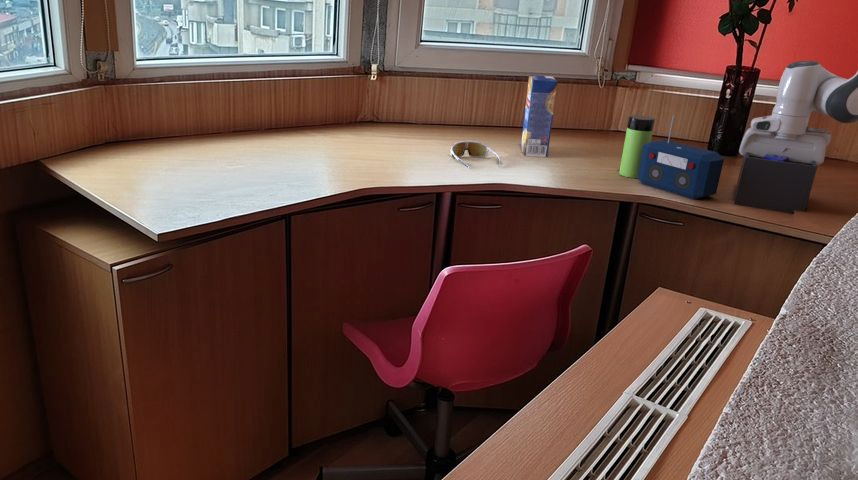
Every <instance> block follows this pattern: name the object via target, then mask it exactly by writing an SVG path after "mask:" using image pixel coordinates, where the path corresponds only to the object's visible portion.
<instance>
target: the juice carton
mask: <svg viewBox="0 0 858 480" xmlns="http://www.w3.org/2000/svg"><path fill="white" fill-rule="evenodd" d="M558 82H559V81H558V80H557V79H556V78H555V77H554V76H552V75H551V76H550V75H534V74H529V75H528V81H527V91H526V99H525V108H524V115H523V124H522V131H521V139H520V149H521V151H522V154H523V156H524V157H539V158H548V155H549V149H550V148H549V147H550V143H551V133H552V127H553V119H554V110H555V104H556V97H557V89H558Z"/></svg>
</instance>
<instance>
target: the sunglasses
mask: <svg viewBox="0 0 858 480" xmlns="http://www.w3.org/2000/svg"><path fill="white" fill-rule="evenodd" d="M466 151H467V154H468V156H469V157H471V158H487V157H488V153H489V152H490V153H492V154H493V155H495V156H496V158H497V159H498V168H500V167H501V158H500V156H499V154H498V153H497V152H496V151H495V150H493V149H492V148H491V147H490V146H489V145H487V144H485V143H482V142H481V141H476V140H461V141H457V142H455V143H454V144H452V145H451V147H450V152H449V153H450V154H449V155H450V158H451V159H456V160H457V161H459V162H460V163H461V164H462V165H463V166H464V167H465V168H467V169H470V168H471V167H470V166H469V165H468V164H467V163H465V161H463V160H462V159H461V158H462V157H463V156H464V155H465V152H466Z"/></svg>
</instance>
